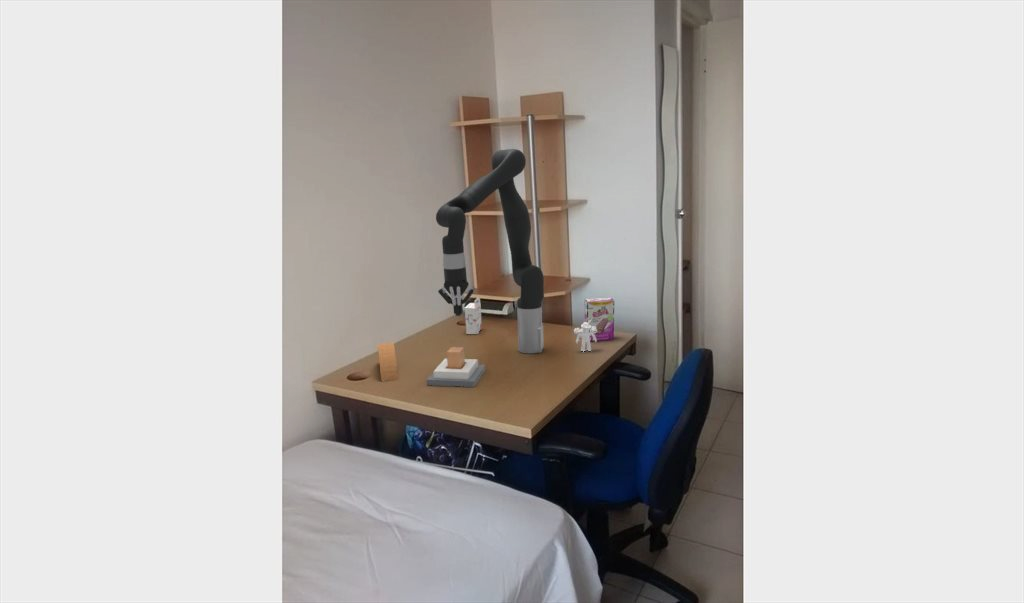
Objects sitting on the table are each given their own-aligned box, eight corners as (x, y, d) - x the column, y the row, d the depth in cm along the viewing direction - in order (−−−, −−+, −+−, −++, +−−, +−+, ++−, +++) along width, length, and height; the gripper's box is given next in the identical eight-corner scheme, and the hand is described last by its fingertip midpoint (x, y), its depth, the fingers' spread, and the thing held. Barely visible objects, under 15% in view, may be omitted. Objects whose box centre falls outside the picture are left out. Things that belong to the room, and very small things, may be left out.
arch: (395, 361, 237) (392, 335, 234) (397, 380, 218) (395, 352, 215) (379, 363, 236) (376, 337, 233) (380, 381, 217) (378, 353, 214)
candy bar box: (587, 342, 251) (586, 301, 247) (583, 338, 256) (583, 298, 252) (614, 340, 252) (614, 299, 249) (611, 336, 257) (611, 297, 253)
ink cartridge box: (470, 329, 275) (469, 295, 271) (482, 329, 274) (480, 295, 270) (465, 334, 267) (463, 300, 263) (477, 335, 266) (475, 300, 262)
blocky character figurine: (595, 348, 243) (595, 317, 241) (599, 351, 240) (598, 320, 237) (572, 350, 242) (572, 320, 239) (576, 353, 238) (575, 322, 235)
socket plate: (485, 370, 223) (484, 358, 222) (473, 387, 208) (473, 374, 207) (441, 368, 227) (440, 356, 226) (426, 385, 211) (426, 372, 210)
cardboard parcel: (465, 369, 219) (464, 347, 217) (460, 375, 214) (459, 352, 212) (452, 369, 220) (451, 346, 218) (448, 374, 215) (446, 352, 213)
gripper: (476, 263, 218) (479, 312, 222) (438, 264, 220) (443, 312, 225) (471, 267, 211) (474, 318, 215) (432, 268, 213) (437, 318, 217)
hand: (458, 315), depth 220 cm, fingers closed
